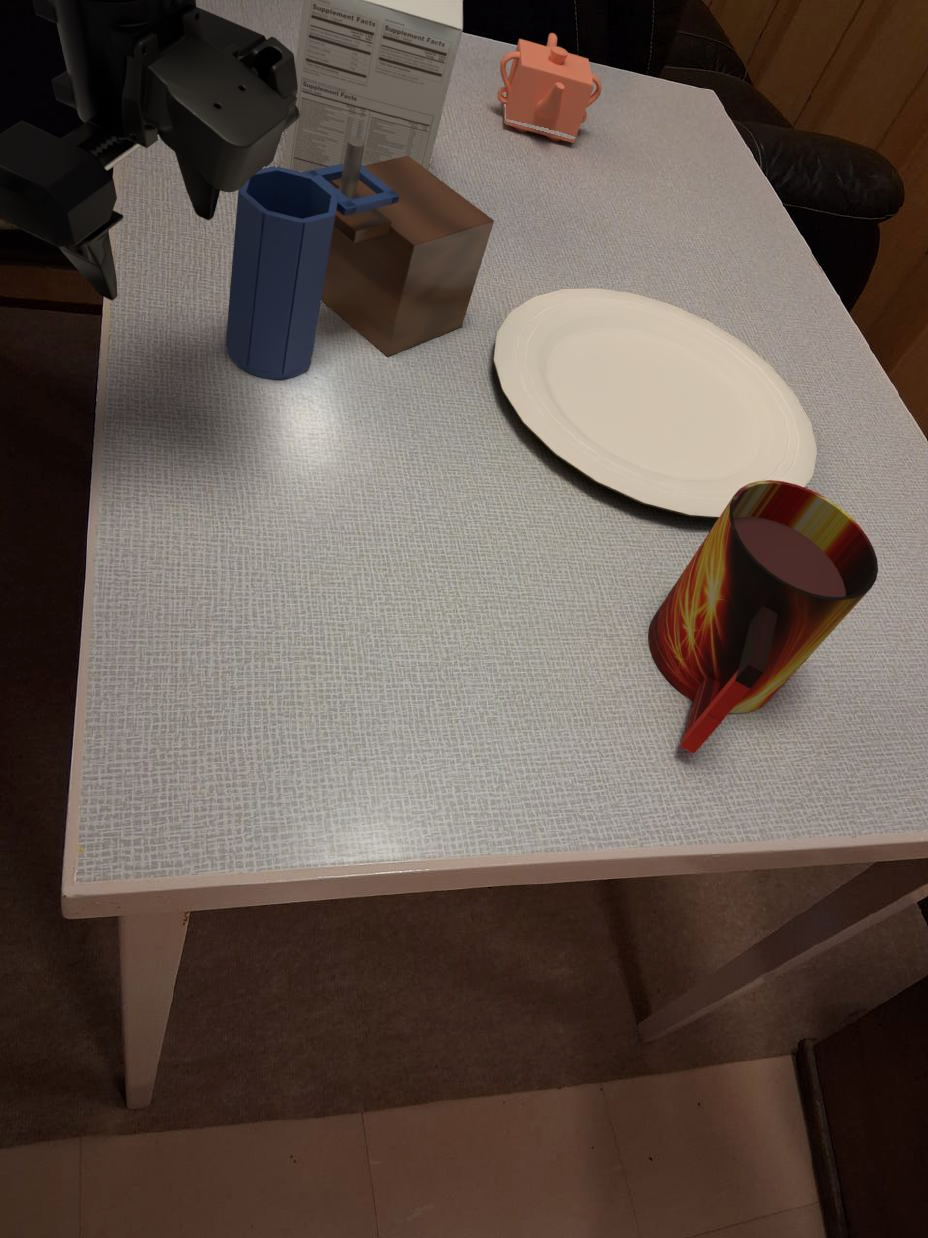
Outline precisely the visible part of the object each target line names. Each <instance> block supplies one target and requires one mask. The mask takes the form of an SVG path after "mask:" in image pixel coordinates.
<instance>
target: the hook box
mask: <svg viewBox="0 0 928 1238" xmlns="http://www.w3.org/2000/svg"><path fill="white" fill-rule="evenodd" d="M364 147H365V143H364V142H363V141H362V140H361V139H358V138H354V137H352V138H349V139H348V141H347V147H346V153H345V159H344V165H343V171H342V177H341V179H336V180H332V181H328V182H329V183H330V184H332V185H333V186H334V187H335V188H336V189H338V190H339V191H340V192H341V193H342V194H344V195H345V196H346V197H347V198H349V199H350V200H353V199H357V198H361V197H365V196H370V195H374V194H376V193H375V192H374V191H373V190H371V189H370V188H369V187H368V186H366V185H365V184H364V183H363V182H361V181H360V180H359V174H360V169H361V163H362V158H363V152H364ZM363 167H364V168H366V169H367V170H368V171H369V172H371V173H372V174H373V175H374V176H376V177H377V178H378V179H379V180H381V181H382V182H383V183H384V184H386V185H387V186H388V187H389V188H391V189H392V190H393V191H394V192H396V193H397V194H398V195H399V201H398V203H396V204H392V205H388V206H384V207H380V208H376V209H372V210H368V211H364V212H360V213H356V214H352V215H348V216H344V215H342V214H341V213H340V212H339V211H338V210H336V215H335V221H334V227H333V233H332V239H331V245H330V251H329V257H328V263H327V269H326V275H325V281H324V287H323V293H322V299H321V302H323V303H324V304H325V305H326V306H328V307H329V308H330V309H331V310H332V311H333V312H334V313H336V314H337V315H338V316H339V317H341V319H342V320H344V321H345V322H346V323H347V324H349V325H350V326H351V327H352V328H353V329H354V330H356V331H357V332H358V333H359V334H360V335H361V336H363V337H364V338H365V339H366V340H367V341H369V342H370V343H371V344H372V345H373V346H375V348H377V349H378V351H380V352H382V354H384V355H385V356H386V357H390V356H392V355H395V354H397V353H400V352H403V351H405V350H407V349H411V348H412V347H415V346H418V345H420V344H423V343H425V342H428V341H430V340H433V339H435V338H437V337H440V336H442V335H445V334H447V333H449V332H453V331H454V330H457V329H460V328H462V327H463V325H464V322H465V319H466V315H467V311H468V308H469V304H470V301H471V298H472V295H473V292H474V288H475V285H476V282H477V278H478V275H479V272H480V269H481V265H482V262H483V259H484V255H485V252H486V248H487V246H488V243H489V239H490V235H491V232H492V229H493V226H494V222H495V220H494V219H493V218H492V217H490V216H489V215H488V214H487V213H485V212H484V211H482V210H481V209H480V208H479V207H477V206H476V205H475V204H473V203H471V202H470V201H469V200H468V199H467V198H465V197H464V196H463V195H461V194H460V193H458V192H457V191H456V190H455V189H453V188H452V187H451V186H450V185H449V184H446V183H445V182H444V181H442V180H441V179H440V178H439V177H437V176H436V175H434V174H433V173H432V172H430V171H429V169H428V170H427V169H425V168H424V167H423V166H421V165H420V164H419V163H417V162H416V161H415V160H413V159H412V158H411V157H409V156H403V157H399V158H394V159H390V160H386V161H381V162H377V163H373V164H369V165H364V166H363Z"/></svg>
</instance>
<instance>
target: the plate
mask: <svg viewBox="0 0 928 1238" xmlns="http://www.w3.org/2000/svg"><path fill="white" fill-rule="evenodd" d="M492 360H493V361H492V362H493V364H494V368H495V372H496V376H497V378H498V382H499V386H500V390H501V392H502V394H503V396H504V397H505V398H506V400H507V401H508V403H509V405H510V406H511V407H512V410H513V411H514V412H515V414H516V415H517V417H518V418H519V420H520V421H521V423H522V424H523V426H524V427H525V428H526V429H528V431H530V433H531V434H533V435H534V437H536V438H537V439H538V440H539V441H540V442H541V443H542V444H543V446H545V447H546V448H547V449H548V450H549V451H550V452H551V453H552V454H553V455H554V456H555V457H556V458H558V459H560V460H561V461H563V462H564V463H565V464H567V465H569V466H570V467H572V468H573V469H575V470H576V471H578V472H579V473H581V474H582V475H583V476H584V477H586V478H587V479H589V480H591V481H593V482H594V483H595V484H597V485H599V486H602V487H604V488H606V489H609V490H611V491H613V492H615V493H617V494H619V495H621V496H624V497H626V498H628V499H630V500H632V501H635V502H637V503H639V504H641V505H645V506H648V507H651V508H656V509H659V510H663V511H666V512H669V513H670V512H671V513H674V514H678V515H683V516H685V517H690V518H703V519H704V518H707V519H718V518H719V517H720V515H721V514H722V512H723V511H724V509H725V508H726V506H727V505H728V503H729V502H730V500H731V499H732V497H733V496H734V495H735V494H736V492H737V491H738V490H739V489H740V488H742V487H744V486H745V485H747V484H750V483H753V482H757V481H765V480H774V481H783V482H788V483H792V484H796V485H799V486H802V487H804V488H806V486H807V485H808V483H809V482H810V481H811V479H812V478H814V474H815V466H816V460H817V456H818V455H817V453H818V447H817V443H816V438H815V433H814V430H813V425H812V421H811V420H810V418H809V416H808V415H807V413H806V411H805V409H804V407H803V405H802V403H801V402H800V400H799V398H798V396H797V395H796V393H795V392H794V390H793V389H792V388H791V387H790V386H789V385H788V384H787V383H786V382H785V380H784V379H783V378H782V377H781V376H780V375H779V374H778V372H777V371H776V370H775V369H774V368H773V367H772V366H771V365H770V364H769V363H768V362H767V361H766V360H765V359H763V358H762V357H761V356H759V354H757V352H755V351H754V350H752V349H751V348H750V347H749V346H747V345H746V344H745V343H744V342H743V341H741V340H740V339H738V338H736V337H735V336H733V335H732V334H730V333H728V332H727V331H725V330H723V329H722V328H720V327H718V326H717V325H716V324H714V323H712V322H711V321H709V320H707V319H704V318H702V317H700V316H698V315H696V314H693V313H691V312H689V311H687V310H685V309H682V308H680V307H678V306H676V305H673V304H671V303H668V302H665V301H661V300H658V299H654V298H651V297H647V296H644V295H641V294H638V293H634V292H628V291H627V292H626V291H619V290H613V289H605V288H600V287H592V288H591V287H590V288H589V287H588V288H587V287H586V288H562V289H557V290H554V291H551V292H546V293H543V294H539V295H535V296H533V297H531V298H529V299H528V300H526V301H525V302H523V303H521V304H520V305H519V306H517V307H515V308H514V309H512V310H510V312H509V314H508V315H507V316H506V318H505V320H504V321H503V322H502V324H501V325H500V327H499V328H498V330H497V331H496V335H495V343H494V353H493V359H492Z"/></svg>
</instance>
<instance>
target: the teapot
mask: <svg viewBox="0 0 928 1238" xmlns="http://www.w3.org/2000/svg"><path fill="white" fill-rule="evenodd" d="M557 45H558V36H557V34H556V33H554V32H550V33H549V34H548V37H547V42H546V45H543V44H539V43H537V42H533V41H530V40H525V39H523V38H519V39H518V42H517V45H516V48H515V50H514V51H510V52H508V53H506V54H505V55H504V56H503V57H502V58H501V61H500V63H499V71H500V72H499V73H500V76H501V79H502V82H503V87H502V86H501V87H500V88H499V89H498V91H497V96H496V97H497V100H498V101H499V102H500V103H502V106H503V107H502V108H503V118H504V119H503V121H504V125H506V126H509V127H513V128H514V129H515V130H516V131H518V132H521V133H528V132H532V133H534V134H535V133H536V134H539V135H543V136H546V137H547V138H548V139H549V140H552V141H553V142H558V141H559V142H560V140H561V141H565V142H569V143H573V144H575V142H576V139H575V140H573V139H569V138H565V137H562V136H558V135H555V134H551V133H547V132H544V131H540V130H536V129H533V128H529V127H525V126H522V125H518V124H515V123H511V122H507V121H505V107H504V104H506V119H509V120H514V121H517V122H521V123H527V124H531V125H535V126H539V127H544V128H548V129H549V130H554V131H559V132H562V133H565V134H568V135H571V136H574V137H576V138H578V137H577V136H578V133H579V131H580V128H581V125H582V124H583V123H585V121H587V116H588V113H587V112H586V111H587V109H588V108H589V107H590V106H591V105H593V103H595V102H596V101H597V100H598V99H599V97H600V96H601V93H602V82H601V80H600V78H599V77H598V75H597V74H596V73H593V72H592V70H591V65H590V61H589V60H590V59H589V58H587V57H583V56H580V55H577V54H573V53H570V52H568V51H567V50H566V49H565V48H563V47H561V46H557ZM511 60H512V63H511V65H510V69H509V73H508V74H507V63H508V62H509V61H511ZM594 84H595V85H594ZM595 86H596V87H595ZM594 87H595V90H594ZM593 90H594V92H593ZM504 92H506V97H504Z"/></svg>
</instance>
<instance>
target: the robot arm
mask: <svg viewBox="0 0 928 1238" xmlns="http://www.w3.org/2000/svg"><path fill="white" fill-rule="evenodd" d="M32 5H33V8H34V14H35V16H38V17H40V18H42V19H45V20H47V21H49V22H52V23H54V24H56V26H57V30H58V36H59V39H60V44H61V47H62V54H63V58H64V62H65V67H66V70H65V71H64V72H62V73H60V74H59V75H57V76H56V77H53V78H52V79H51V81H50V82H51V86H52V89H53V93H54V97H55V100H56V101H58V102H60V103H62V104H64V105H67V106H69V107H71V108H73V109H75V110H77V114H78V117H79V118H80V120H81V121H82V122H83V123H82V124H81V125H79V126H78V127H76V128H74V129H73V130H72V131H69V132H68V133H67V134H65V135H64V136H62V137H61V138H60V137H58V136H56V135H54V134H52V133H50V132H48V131H46V130H43V129H41V128H39V127H37V126H34V125H32V124H30V123H28V122H27V121H24V120H20V121H18V122H17V123H15V124H14V125H11V126H10V127H9V128H7V129H5V130H4V131H3V132H1V133H0V220H1V221H3V222H4V223H7V224H9V225H12V226H13V227H16V228H17V229H19V230H21V231H24V232H26V233H28V234H29V235H32V236H34V237H36V238H38V239H40V240H42V241H44V242H47V243H48V244H50V245H53V246H55V247H57V248H58V249H59V250H60V251H61V252H62V253H63V255H64V256H65V257H66V258H67V259H68V260H69V261H70V263H71V264H72V265H73V266H74V267H75V268H76V270H77V271H78V272H79V273H80V274H81V275H82V277H84V279H85V280H86V281H87V282H88V284H90V286H91V287H92V289H94V290H95V292H96V293H97V294H98V295H100V296H101V297H103V298H106V299H108V301H109V300H110V301H114V300H116V299H117V298H118V279H117V272H116V265H115V262H114V261H115V260H114V256H113V250H112V249H113V248H112V244H111V238H110V232H109V231H110V230H111V229H112V228H113V227H114V226H116V225H117V224H119V223H120V222H121V221H122V220H123V219H124V214H122V213H120V212H118V211H116V210H115V209H114V208H115V206H116V202H117V199H118V195H117V190H116V186H115V180H114V178H113V176H112V175H111V174H110V173H109V170H111V169H113V168H114V167H115V166H116V165H118V164H119V163H120V162H123V160H125V159H127V158H128V157H129V156H131V154H133V153H135V152H136V151H137V150H138V149H140V148H142V147H143V148H145V149H149V148H150V147H151V146H152V145H154V144H155V143H156V142H158V141H159V138H160V140H161V141H162V142H163V143H164V144H165V145H166V146H167V147H168V148H169V149H171V150H172V151H173V152H174V154H175V157H176V161H177V163H178V166H179V170H180V174H181V177H182V181H183V184H184V187H185V190H186V193H187V195H188V198H189V200H190V203H191V205H192V207H193V210H194V213H195V214H196V215H197V216H198V217H200V218H202V219H204V220H207V221H211V220H212V219H213V218H214V217H215V213H216V209H217V205H218V201H219V196H220V193H221V192H223V193H235V192H238V191H239V189H240V188H242V187H243V186H244V185H245V183H246V182H247V181H248V180H249V179H250V178H251V177H252V176H254V175H255V174H256V173H257V172H258V171H260V170H261V169H263V168H268V167H269V166H270V165H271V164H272V162H274V159H275V156H276V153H277V150H278V147H279V144H280V141H281V139H282V136H283V132H284V131H286V130H287V128H288V127H289V126H290V125H292V124H293V123H294V122H295V121H296V120H297V119H299V116H300V113H299V110H298V108H297V106H296V105H295V104H296V101H297V97H296V95H297V91H298V84H297V76H296V68H295V62H296V58H295V55H294V52H292V51H291V50H290V49H289V48H288V47H287V46H285V45H284V44H283V43H282V42H281V41H280V40H279V39H277V38H276V37H275V36H269V38H266V36H265V35H264V34H262V33H260V32H258V31H255V30H253V29H250V28H247V27H245V26H243V25H241V24H238V23H236V22H234V21H231V20H229V19H226V18H224V17H222V16H219V15H218V14H215V13H212V12H210V11H208V10H206V9H203V8H201V7H198V6H197V1H196V0H32Z"/></svg>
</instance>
